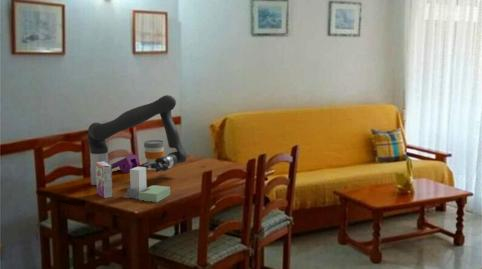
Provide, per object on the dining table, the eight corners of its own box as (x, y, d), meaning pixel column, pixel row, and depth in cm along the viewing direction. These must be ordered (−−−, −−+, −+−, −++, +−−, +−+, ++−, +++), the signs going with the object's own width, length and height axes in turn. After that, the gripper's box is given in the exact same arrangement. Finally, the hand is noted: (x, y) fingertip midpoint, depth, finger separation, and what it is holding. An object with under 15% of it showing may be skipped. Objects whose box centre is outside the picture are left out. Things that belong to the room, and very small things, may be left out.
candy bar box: (96, 193, 275) (94, 162, 272) (105, 192, 278) (104, 161, 275) (103, 199, 266) (102, 166, 263) (113, 197, 269) (112, 165, 266)
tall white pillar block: (138, 193, 276) (137, 166, 274) (146, 194, 274) (145, 167, 272) (130, 196, 270) (129, 169, 267) (139, 197, 268) (138, 170, 266)
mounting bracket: (110, 180, 326) (131, 170, 318) (105, 167, 326) (126, 157, 318) (120, 176, 334) (141, 167, 326) (115, 164, 335) (136, 154, 326)
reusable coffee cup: (168, 164, 341) (168, 141, 339) (155, 168, 331) (155, 144, 328) (153, 162, 348) (153, 139, 345) (140, 166, 338) (139, 142, 335)
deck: (137, 191, 280) (136, 182, 279) (170, 194, 274) (170, 186, 273) (122, 198, 267) (122, 189, 266) (156, 202, 261) (156, 193, 260)
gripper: (152, 155, 297) (136, 161, 282) (175, 157, 292) (161, 163, 277) (152, 168, 298) (137, 175, 283) (175, 170, 293) (161, 177, 278)
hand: (149, 169), depth 280 cm, fingers open, 8 cm apart
